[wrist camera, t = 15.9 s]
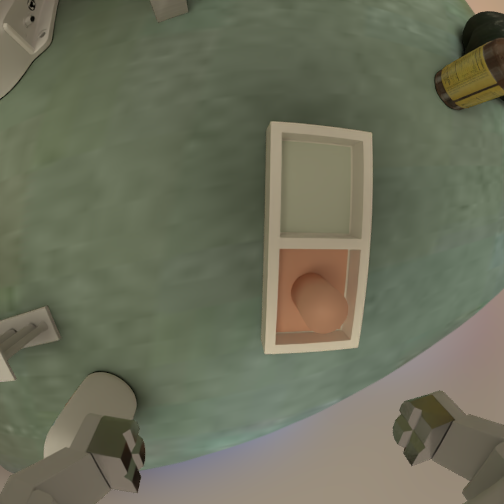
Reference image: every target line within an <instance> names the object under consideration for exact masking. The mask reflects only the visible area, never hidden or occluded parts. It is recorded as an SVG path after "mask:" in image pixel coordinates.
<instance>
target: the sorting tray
mask: <svg viewBox="0 0 504 504" xmlns="http://www.w3.org/2000/svg"><path fill="white" fill-rule="evenodd" d="M372 194H373V151H372V133H370V132H364V131H358V130H351V129H344V128H337V127H329V126H321V125H311V124H301V123H289V122H275V121H271V122H270V124H269V126H268V128H267V129H266V164H265V214H264V255H263V291H262V323H261V341H262V345H263V349H264V353H265V354H281V353H300V352H315V351H328V350H339V349H349V348H358V343H359V337H360V331H361V324H362V317H363V310H364V302H365V294H366V285H367V276H368V265H369V254H370V240H371V222H372ZM306 273H316V274H319V275H321V276H322V277H323V278H324V279H326V280H327V281H328V282H329V283H330V284H331V285H332V286H333V287H334V288H336V289H337V290H338V291H339V292H340V293H341V294H342V295H343V296H344V297H345V298H346V300H347V303H348V315H347V318H346V320H345V321H344V323H343V324H342V325H341V326H340V327H339V328H338V329H336V330H335V331H333V332H330V333H325V334H320V333H316V332H314V331H312V330H310V329H309V328H308V327H307V325H306V323H305V322H304V320H303V318H302V316H301V315H300V313H299V311H298V309H297V307H296V306H295V304H294V302H293V300H292V297H291V289H292V286H293V284H294V282H295V281H296V279H297V278H299V277H300V276H302V275H304V274H306Z"/></svg>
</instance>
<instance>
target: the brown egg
mask: <svg viewBox="0 0 504 504" xmlns="http://www.w3.org/2000/svg"><path fill="white" fill-rule="evenodd" d="M291 297H292V300H293V302H294V304H295V306H296V307H297V309H298V311H299V313H300V315H301V316H302V318H303V320H304V322H305V323H306V325H307V327H308V328H309V329H310V330H312V331H314V332H316V333H320V334H325V333H330V332H333V331H335V330H336V329H338V328H339V327H340V326H341V325H342V324H343V323H344V321H345V320H346V318H347V315H348V303H347V300H346V298H345V297H344V296H343V295H342V294H341V293H340V292H339V291H338V290H337V289H336V288H334V287H333V286H332V285H331V284H330V283H329V282H328V281H327V280H326V279H324V278H323V277H322V276H321V275H319V274H316V273H306V274H304V275H302V276H300V277H299V278H297V279H296V281H295V282H294V284H293V286H292V289H291Z"/></svg>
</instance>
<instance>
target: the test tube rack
mask: <svg viewBox="0 0 504 504" xmlns="http://www.w3.org/2000/svg"><path fill="white" fill-rule="evenodd" d="M60 339H61V335H60V333H59V331H58V329H57V327H56V324H55V322H54V320H53V317H52V315H51V312H50V310H49V308H48V306H44V307H41V308H38V309H35V310H32V311H28V312H25V313H22V314H19V315H16V316H13V317H10V318H7V319H3V320H0V382H4V381H14V380H16V379H17V378H16V376H15V375H14V373H13V371H12V369H11V367H10V365H9V363H8V359H9V358H10V357H11V356H13V355H14V354H15V353H16V352H18V351H19V350H20V349H21V348H26V347H31V346H35V345H40V344H44V343H49V342H53V341H58V340H60Z"/></svg>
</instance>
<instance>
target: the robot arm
mask: <svg viewBox="0 0 504 504" xmlns="http://www.w3.org/2000/svg"><path fill="white" fill-rule="evenodd" d="M57 5H58V0H0V98H2V97H3V96H4V95H5V94H7V93H8V92H9V91H10V90H11V89H12V88H13V87H14V85H15V84H16V83H17V82H18V81H19V79H20V78H21V77H22V76H23V74H24V73H25V71H26V70H27V68H28V67H29V65H30V64H31V63H32V61H33V60H34V59H35V58H36V57H37V56H38V55H40V54H41V53H42V52H43V51H44V50H45V49H46V48H47V47H48V46H49V45H50V43H51V41H52V36H53V29H54V22H55V16H56V11H57ZM400 413H401V415H400V416H399V417H398V418H397V419H396V420H395V423H394V426H393V435H394V439H395V441H396V442H397V444H398V445H400V446H402V447H404V452H403V453H404V455H405V457H406V458H407V460H408V461H409V463H410V464H411V466H413V465H416V464H419V463H422V462H424V461H427V460H430V459H432V460H433V461H434V462H436V463H438V464H440V465H442V466H443V467H445V468H447V469H449V470H451V471H452V472H454V473H456V474H458V475H460V476H462V477H464V478H466V479H467V480H469V481H470V482H469V483H468V484H467V486H466V487H465V488H464V489H463V492H462V493H463V495H464V496H465V498H466V499H467V502H465V503H464V504H504V425H502V424H499V423H496V422H492V421H489V420H486V419H483V418H480V417H477V416H473V415H471V414H469V415H466V414H465V413H464V412H463V411H462V410H461V409H460V408H459V407H458V406H457V405H456V404H455V403H454V402H453V401H452V400H451V399H450V398H449V397H448V396H447V395H446V394H445V393H444V392H443V391H437V392H433V393H430V394H428V395H424V396H421V397H417V398H414V399H411V400H407V401H404V403H403V404H402V405H401V407H400ZM139 430H140V428H139V425H138V423H137V421H135V420H129V419H122V418H116V417H111V416H105V415H98V414H94V413H89V414H87V415H86V416H85V418H84V420H83V422H82V424H81V426H80V428H79V430H78V432H77V434H76V436H75V438H74V440H73V442H72V444H71V446H70V448H67V447H64V448H63V449H61V450H59V451H57V452H55V453H53V454H52V455H50V456H48V457H46V458H44V459H42V460H40V461H38V462H37V463H35V464H33V465H31V466H29V467H27V468H25V469H23V470H21V471H19V472H17V473H15V474H13V475H11V476H10V477H9V479H8V481H7V483H6V484H5V486H4V488H3V490H2V492H1V494H0V504H96V503H97V502H98V501H99V500H100V499H102V498H103V497H104V496H105V495H106V494H107V493H108V492H109V491H110V490H111V489H115V490H120V491H126V492H133V493H138V489H139V485H140V480H141V475H140V473H139V471H138V470H139V469H141V468H142V467H143V466H144V462H145V444H144V441H143V439H142V438H141V437H140V436H139V435H138V434H139Z"/></svg>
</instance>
